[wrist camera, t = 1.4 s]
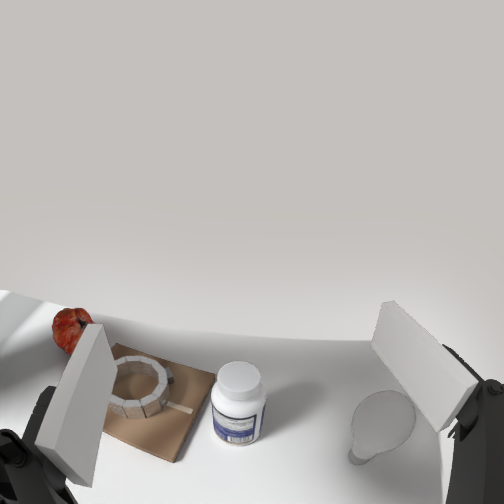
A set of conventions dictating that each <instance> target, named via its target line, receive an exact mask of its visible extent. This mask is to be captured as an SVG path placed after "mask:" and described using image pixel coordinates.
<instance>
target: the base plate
mask: <svg viewBox="0 0 504 504" xmlns="http://www.w3.org/2000/svg"><path fill="white" fill-rule="evenodd" d="M111 352H112V355H113V358H114V361H115V360H117V359H120V358H122V357H126V356H144V357H147V358H150V359H153V360H156V361H157V362H158V363H159V364H160V365H161V366H162V367H163V368H167V367H169V369H170V371H171V373H172V375H173V377H174V382H175V383H173V384H169V390H170V399H169V400H168V402H167V403H166V405H165V407H164V408H163V410H162V411H160V412H158V413H156V414H154V415H152V416H151V417H149V418H147V417H146V419H128V418H124V417H122V416H120V415H118V414H116V413H114V412H113V411H112V410H111V409H110V407H109V406H108V408H107V412H106V417H105V421H104V425H103V430H102V431H103V432H105V433H107V434H109V435H111V436H113V437H115V438H117V439H119V440H121V441H123V442H125V443H127V444H129V445H131V446H133V447H136V448H138V449H140V450H142V451H144V452H147V453H149V454H152V455H154V456H156V457H159V458H161V459H164V460H167V461H169V462H172V463H174V461H175V459H176V457H177V455H178V453H179V451H180V449H181V447H182V445H183V443H184V441H185V439H186V437H187V435H188V433H189V431H190V429H191V427H192V425H193V423H194V421H195V419H196V417H197V415H198V413H199V411H200V409H201V407H202V405H203V403H204V401H205V399H206V397H207V394H208V392H209V390H210V388H211V386H212V384H213V382H214V380H215V374H213V373H209V372H205V371H202V370H198V369H194V368H191V367H187V366H184V365H180V364H177V363H174V362H170V361H167V360H164V359H161V358H158V357H155V356H152V355H149V354H146V353H143V352H140V351H137V350H134V349H131V348H129V347H126V346H123V345H120V344H118V343H116V344H115V345H114V346H113V347H112V348H111ZM158 384H159V383H158V382H157V381H156V379H155V378H153V377H150V376H147V375H145V374H130V375H128V376H126V377H124V378H122V379H120V380H119V381H118V382H117V383H116V384H115V386H114V387H113V391H112V394H113V395H115V396H117V397H119V398H121V399H123V400H140V399H142V398H144V397H146V396H148V395H150V394H152V393H153V391H154V390H155V388H156V387H157V385H158Z"/></svg>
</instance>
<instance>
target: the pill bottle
mask: <svg viewBox="0 0 504 504" xmlns="http://www.w3.org/2000/svg"><path fill="white" fill-rule="evenodd" d="M217 378H218V381H217V382H216V383H215V385H214V386H213V388H212V392H211V401H212V413H213V424H214V431H215V433H216V435H217V437H218V438H219V439H220V440H221V441H223V442H224V443H226V444H228V445H232V446H245V445H248V444H250V443H252V442H254V441H255V440H256V439H257V438H258V436H259V435H260V432H261V429H262V423H263V416H264V410H265V404H266V391H265V388H264V386H263V385H262V384H261V373H260V371H259V369H258V368H257V367H256V366H254V365H253V364H251V363H248V362H244V361H233V362H229V363H227V364H225V365H224V366H222V367H221V368H220V370H219V372H218V377H217Z"/></svg>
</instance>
